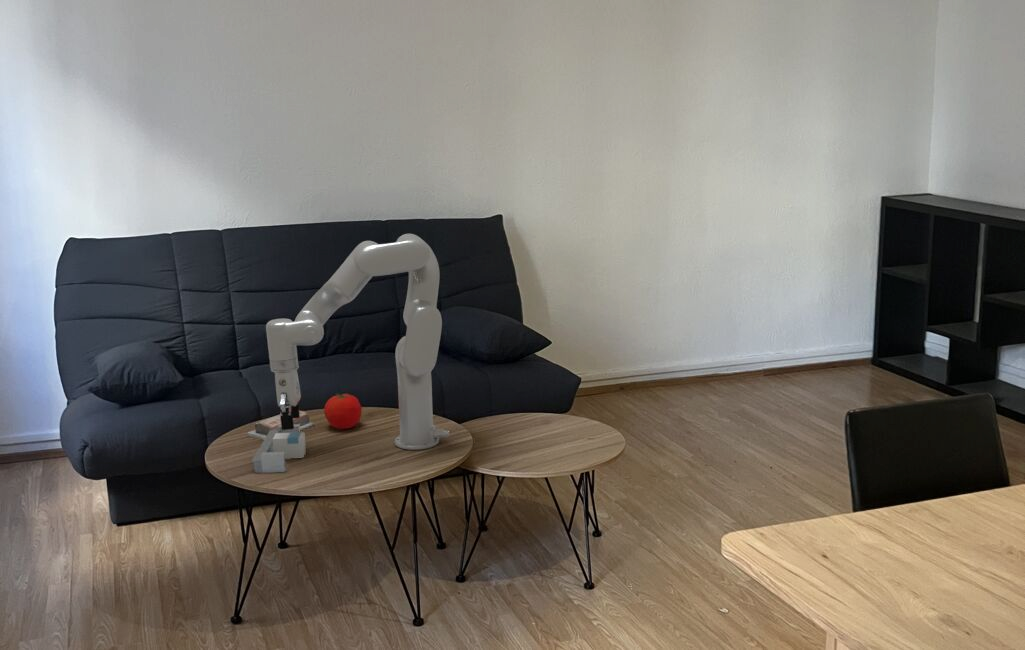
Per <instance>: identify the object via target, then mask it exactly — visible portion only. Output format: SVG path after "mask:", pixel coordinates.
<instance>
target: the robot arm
mask: <svg viewBox="0 0 1025 650" xmlns="http://www.w3.org/2000/svg"><path fill="white" fill-rule="evenodd" d="M407 272H408V285H407V293H406V299H405V304H404V309H403V314H402V315H403V316H402V317H403V321H404V324H405V325H406V332H405V335H404V336H402V337H401V339H399V341H398V342H397V344H396V347H395V356H394V358H395V365H396V373H397V374H396V375H397V392H398V393H397V394H398V396H397V397H398V399H397V400H398V415H399V417H398V418H399V421H398V422H399V436H397V437H395V439H394V444H395V446H396V447H398V448H400V449H403V450H413V451H414V450H415V451H416V450H417V451H418V450H425V449H431V448H433V447H436V446H437V445H438V444H439V443H440V438H449V437H450V430H446V429H445V428H441V429H438V428H435V426H436V425H435V423H434V418H433V417H434V416H433V388H432V387H433V386H432V385H433V383H432V371H433V369H434V368H435V366H436V364H437V360H438V359H437V358H438V353H439V348H440V341H441V336H442V328H443V319H442V313H441V312H440V310H439V309H438V308H437V303H438V296H439V288H440V287H439V286H440V266H439V262H438V259H437V257H436V255H435V253H434V251H433V249H432V247H430V245H429V244H428V243H427V242H426V241H425V240H423V239H422V237H420V236H418V235H417V234H413V233H404V234H402V235H401V236H399V237H398V238H397V239H396V241H395V242H387V243H380V244H379V243H378V242H375V241H372V240H365V241H362V242H360V243H359V244H358V245H357V246H355V248H354V249H353V250H352V251H351V252H350V254H349V255H348V256H347V257H346V259H345V260H344V262H343V263H342V264H341V265H340V266H339V268H337V270H336V271H335V272H334V273H333V274H332V276H331V277H330V278H329V279H328V281H326V282H325V283H324V284H323V285H322V286H321V287H320V289H318V290H317V292H315V294H313V296H312V297H311V298H310V299H309V300H308V302H307V303H306V304H305V305H304V306H303V307H302V309H301V310H300V312H299V313H298V314H297V316H296V317H295V319H294V321H293V320H292V319H290V318H276V319H275V318H274V319H271V320H269V321H268V322H267V323H266V325H265V332H266V339H267V341H266V342H267V348H268V358H269V366H270V367H269V368H270V371H271V372H272V373H274V382H275V391H276V400H277V406H278V407H279V408H280V409H279V410H280V414H279V415H280V417H281V426H282V430H288V429H293V428H294V424H293V418H299V417H300V414H299V410H300V407H299V401H300V400H301V398H302V394H301V385H300V382H299V375H298V369H299V368H300V366H299V359H298V358H299V357H298V349H297V346H314V345H317V344H319V343H320V342H321V341H322V340H323V338H324V335H325V331H324V330H325V329H324V325H325V324H326V322H327V321H328V320H329V319H330V317H332V315H333V314H334V313H335V312H336V311H337V310H338V309H340V308H341V307H342V306H344V305H346V304H349V303H351V302H352V301H353V300H355V298H356V297H357V296H358V295H359V294H360V293H361V291H362V290H363V288H365V286H366V285H367V284H368V282H369V281H370V280H371V279H372V278H373V277H380V276H387V275H388V276H389V275H395V274H400V273H407Z"/></svg>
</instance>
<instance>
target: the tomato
mask: <svg viewBox="0 0 1025 650" xmlns="http://www.w3.org/2000/svg"><path fill="white" fill-rule="evenodd" d="M335 394H336V395H334V396H332V397H331V398H329V399H328V400H327V401H326V403H325V405H324V410H323V412H324V413H323V414H324V417H325V419H326V420H327V422H328V424H329V425H330V426H331V427H333V428H334V429H338V430H345V429H346V430H347V429H350V428H353V427H354V426H356V425H357V424H358V423H359V421H360V420H361V417H362V412H363V411H362V406H361V404H360V402H359V399H358V398H357V397H355V395H351V394H350V392H348V393H343V394H339V393H336V392H335Z"/></svg>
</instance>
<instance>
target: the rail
mask: <svg viewBox="0 0 1025 650" xmlns="http://www.w3.org/2000/svg"><path fill="white" fill-rule="evenodd" d="M290 432H301V431H300V424H294V428H293V429H288V430H282V426H281V425H279V426H278V430H270V431H269V433H268V435H267V436H266V438H265V439H264V440H263V441H262V443H261V444H260V446H259V447H258V449H257V451H256V453H255V454H254V456H253V458H252V459H251V463H253V465H254V473H255V474H264V473H265V474H266V473H268V474H270V473H273V474H274V473H286V471H287V461H286V460H287V459H286V458H285V452H274V451H273V438H274V436H275V434H276V433H290Z"/></svg>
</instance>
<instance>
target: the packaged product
mask: <svg viewBox="0 0 1025 650" xmlns="http://www.w3.org/2000/svg"><path fill="white" fill-rule="evenodd" d="M299 414H300V417H299V418H293V424H300V430H301V431H303V430H306V429H308V428H311V427H313V426H312V425H314V426H315V422H311V421H310V417H309V413H307V412H306V411H304V410H300V409H299ZM279 425H281V417H280V414H277V415H274V416H272V417H268V418H265V419H263V420H260V421H257V422H255V424H254V427H255V429H253V430H251V431H248V432H247V435H248V437H249V436H250V438H253V437H254V439H257V440H263V441H264V439H265V438H266V436H267V435H268V433H269V431H270V430H278V426H279ZM310 426H311V427H310ZM305 428H306V429H305ZM302 429H303V430H302Z"/></svg>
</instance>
